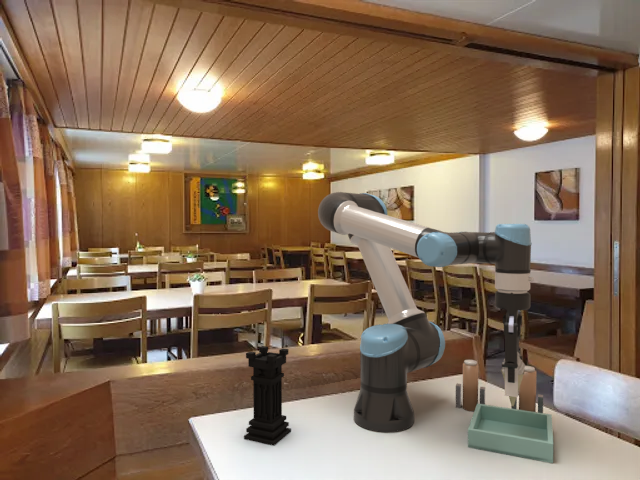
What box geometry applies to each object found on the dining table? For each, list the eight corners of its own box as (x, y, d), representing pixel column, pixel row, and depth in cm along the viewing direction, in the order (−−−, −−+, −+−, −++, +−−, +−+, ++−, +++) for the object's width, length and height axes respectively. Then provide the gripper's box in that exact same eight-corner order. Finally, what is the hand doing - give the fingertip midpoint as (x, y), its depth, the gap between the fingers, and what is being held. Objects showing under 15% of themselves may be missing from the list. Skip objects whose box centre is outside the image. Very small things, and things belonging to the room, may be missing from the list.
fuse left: (461, 409, 126) (461, 362, 126) (463, 404, 130) (463, 358, 129) (477, 412, 125) (477, 364, 124) (478, 407, 128) (479, 360, 128)
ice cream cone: (528, 410, 106) (528, 344, 105) (505, 410, 106) (505, 345, 106) (519, 401, 111) (519, 338, 111) (497, 401, 111) (497, 339, 111)
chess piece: (291, 431, 113) (290, 348, 112) (274, 445, 106) (273, 357, 105) (262, 425, 116) (262, 345, 116) (244, 439, 109) (243, 353, 108)
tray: (467, 447, 105) (467, 429, 105) (477, 418, 120) (477, 403, 120) (553, 463, 98) (553, 444, 98) (551, 431, 113) (551, 414, 113)
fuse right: (518, 418, 120) (519, 368, 120) (518, 413, 124) (519, 364, 124) (535, 421, 119) (536, 370, 118) (535, 415, 122) (536, 366, 122)
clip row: (455, 407, 128) (455, 385, 128) (456, 404, 130) (456, 383, 129) (542, 421, 119) (543, 397, 119) (542, 418, 121) (543, 395, 120)
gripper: (529, 297, 98) (528, 407, 99) (531, 287, 115) (530, 382, 115) (491, 295, 101) (491, 402, 102) (498, 285, 118) (497, 378, 118)
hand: (511, 391), depth 109 cm, fingers closed on ice cream cone, 5 cm apart
